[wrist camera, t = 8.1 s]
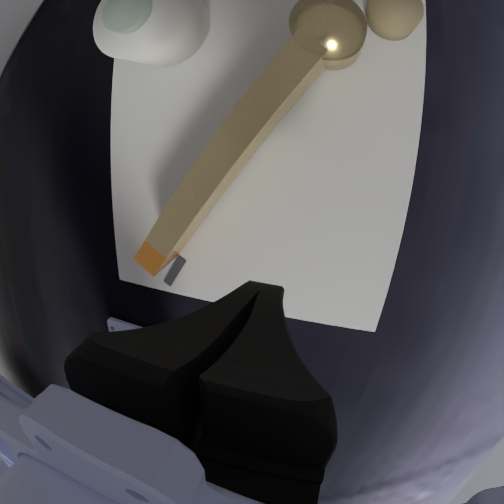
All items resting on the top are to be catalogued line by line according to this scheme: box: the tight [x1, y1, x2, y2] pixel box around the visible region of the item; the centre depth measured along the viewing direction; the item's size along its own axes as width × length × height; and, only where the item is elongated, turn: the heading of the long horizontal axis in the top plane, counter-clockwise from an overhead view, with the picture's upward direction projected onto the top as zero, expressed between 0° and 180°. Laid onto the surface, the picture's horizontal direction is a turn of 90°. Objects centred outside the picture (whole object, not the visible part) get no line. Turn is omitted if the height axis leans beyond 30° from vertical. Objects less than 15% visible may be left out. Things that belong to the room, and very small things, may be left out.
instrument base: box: [93, 0, 426, 332], centre depth 15 cm, size 20×18×6 cm
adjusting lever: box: [134, 0, 367, 277], centre depth 15 cm, size 17×3×3 cm, turn 142°
